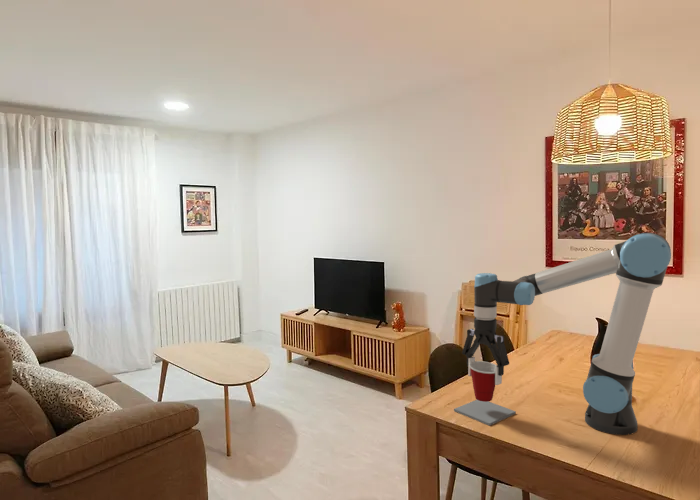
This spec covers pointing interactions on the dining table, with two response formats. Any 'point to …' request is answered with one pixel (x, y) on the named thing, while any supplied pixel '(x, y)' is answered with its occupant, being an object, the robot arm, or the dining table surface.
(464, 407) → the rest mat
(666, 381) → the dining table surface
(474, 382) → the plastic cup
